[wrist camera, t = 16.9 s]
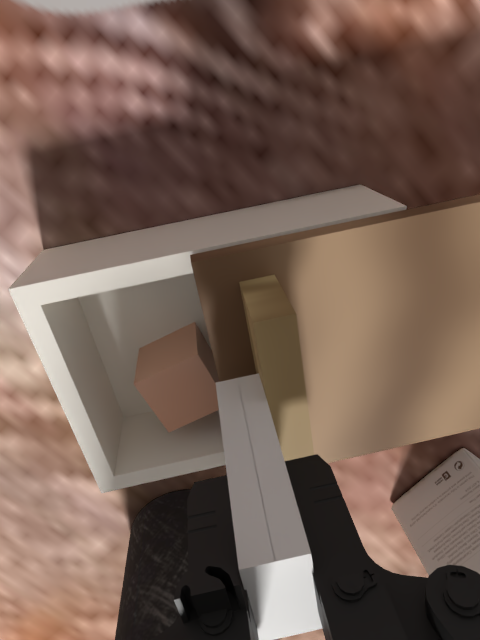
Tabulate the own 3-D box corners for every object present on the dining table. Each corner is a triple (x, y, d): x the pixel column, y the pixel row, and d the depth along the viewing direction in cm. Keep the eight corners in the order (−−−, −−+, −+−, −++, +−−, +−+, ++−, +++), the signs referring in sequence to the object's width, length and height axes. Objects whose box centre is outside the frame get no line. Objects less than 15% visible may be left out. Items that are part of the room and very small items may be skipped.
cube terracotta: (169, 393, 22) (168, 432, 20) (138, 348, 21) (133, 384, 18) (222, 368, 22) (228, 405, 20) (195, 321, 21) (197, 354, 18)
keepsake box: (114, 427, 23) (101, 493, 20) (43, 249, 19) (8, 289, 15) (368, 371, 24) (406, 424, 20) (360, 184, 19) (406, 205, 15)
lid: (240, 468, 19) (254, 545, 16) (190, 254, 15) (194, 300, 11) (544, 399, 20) (619, 460, 17) (586, 171, 15) (702, 192, 12)
